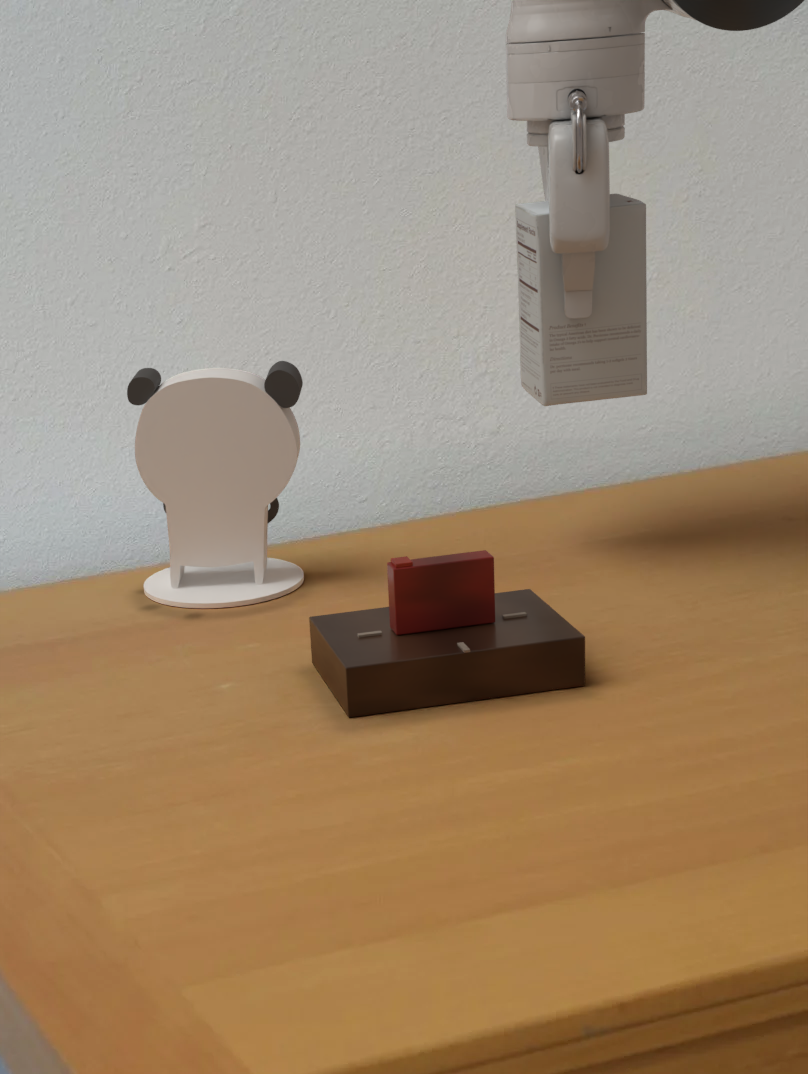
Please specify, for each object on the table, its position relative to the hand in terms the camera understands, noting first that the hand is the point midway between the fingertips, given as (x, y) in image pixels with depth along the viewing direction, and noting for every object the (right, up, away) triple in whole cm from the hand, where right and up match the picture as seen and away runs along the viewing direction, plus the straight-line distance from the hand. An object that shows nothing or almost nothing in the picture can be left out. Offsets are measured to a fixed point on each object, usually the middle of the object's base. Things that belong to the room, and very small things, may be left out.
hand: (576, 305), depth 123 cm
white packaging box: (+1, -6, +2) cm, 6 cm away
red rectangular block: (-11, -23, -16) cm, 30 cm away
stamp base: (-10, -26, -15) cm, 32 cm away
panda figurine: (-24, -18, +5) cm, 30 cm away
